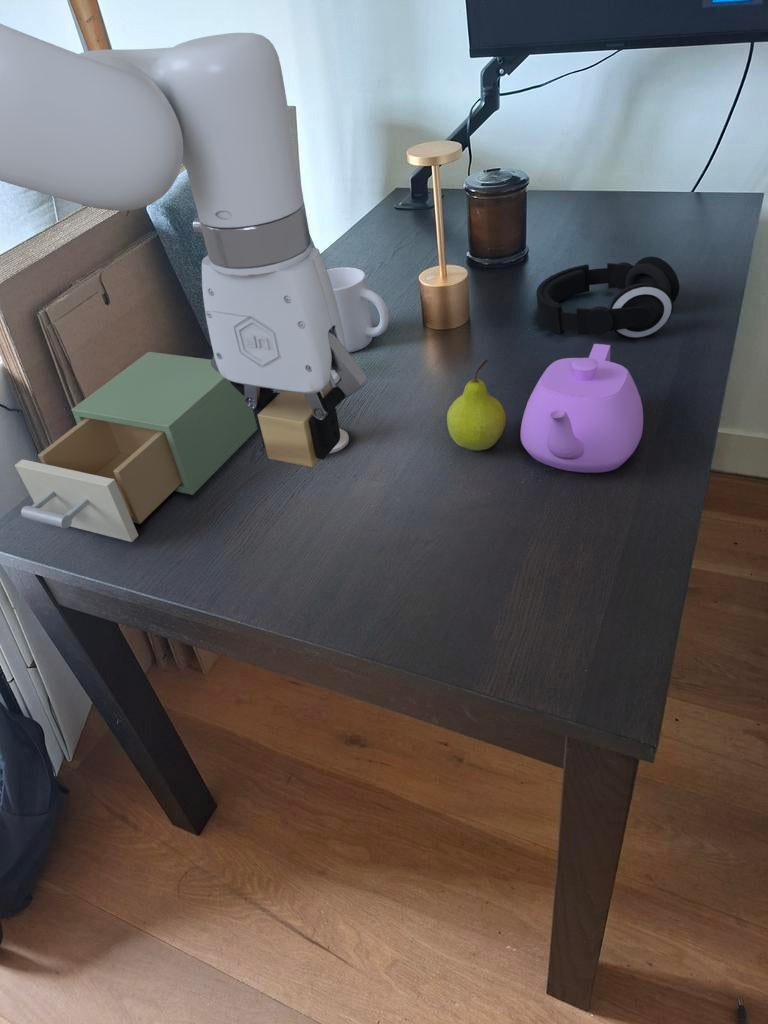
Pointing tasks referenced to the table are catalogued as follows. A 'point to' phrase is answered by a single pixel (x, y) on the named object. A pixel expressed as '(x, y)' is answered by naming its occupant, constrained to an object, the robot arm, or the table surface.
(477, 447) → the fruit
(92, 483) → the drawer
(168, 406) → the cabinet
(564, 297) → the headphones
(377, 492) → the table surface
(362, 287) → the mug
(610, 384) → the teapot
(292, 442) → the block
